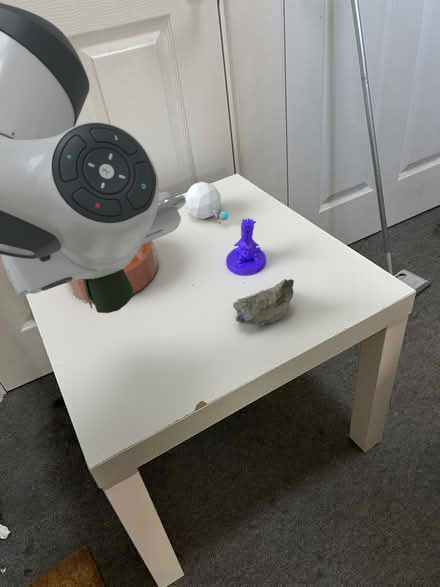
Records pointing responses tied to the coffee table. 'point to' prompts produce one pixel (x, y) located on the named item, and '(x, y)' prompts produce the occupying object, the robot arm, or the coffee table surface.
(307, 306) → the coffee table surface
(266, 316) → the rock
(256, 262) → the figurine
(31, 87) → the robot arm
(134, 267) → the bowl
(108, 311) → the character mug
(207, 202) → the faceted white ball
